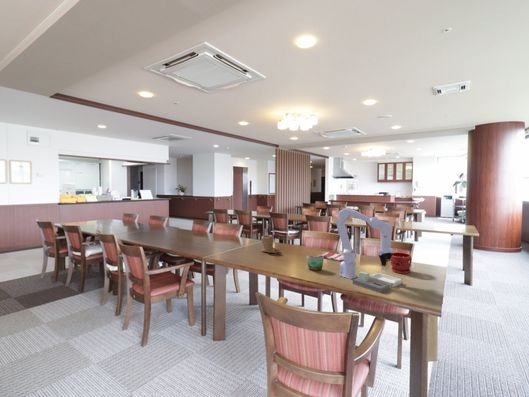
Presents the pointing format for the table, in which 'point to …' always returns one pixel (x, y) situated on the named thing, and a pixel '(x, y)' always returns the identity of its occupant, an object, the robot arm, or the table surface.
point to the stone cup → (268, 244)
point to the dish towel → (333, 256)
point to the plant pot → (401, 262)
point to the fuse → (363, 276)
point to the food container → (315, 263)
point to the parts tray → (386, 279)
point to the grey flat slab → (372, 285)
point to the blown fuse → (386, 268)
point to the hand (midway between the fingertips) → (385, 265)
